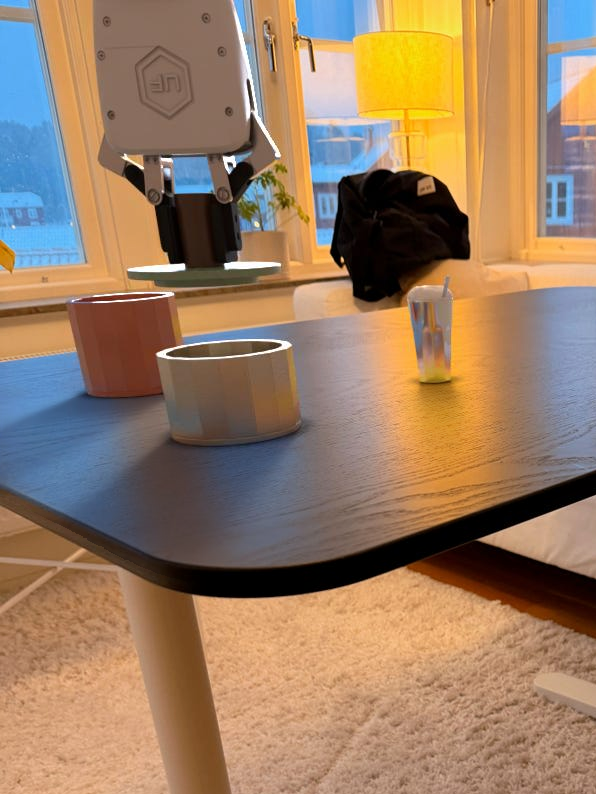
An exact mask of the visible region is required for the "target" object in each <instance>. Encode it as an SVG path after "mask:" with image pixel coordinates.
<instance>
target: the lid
mask: <svg viewBox="0 0 596 794" xmlns="http://www.w3.org/2000/svg"><path fill="white" fill-rule="evenodd" d="M173 195H174V202H175V208H176V215H177V221H178V227H179V234H180V240H181V247H182V253H183V259H184V263H183V264H175V265H171V264H161V265H147V266H139V267H138V266H137V267H132V268H128V269H126V276H127V279H129V280H133V281H145V282H146V281H149V282H150V281H151V282H153V285H154V287H157V288H170V289H171V288H174V289H181V288H183V289H187V288H188V289H190V288H218V287H233V286H242V285H250V284H256V283H259V282H260V277H266V276H273V275H278V274H282V264H281V263H279V262H271V261H269V262H268V261H237V262H232V263H220V262H218V260H217V256H216V249H215V241H214V234H213V227H212V220H211V213H210V206H212V205H211V204H215V202H214V195H215V192H180V193H175V194H173Z"/></svg>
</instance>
